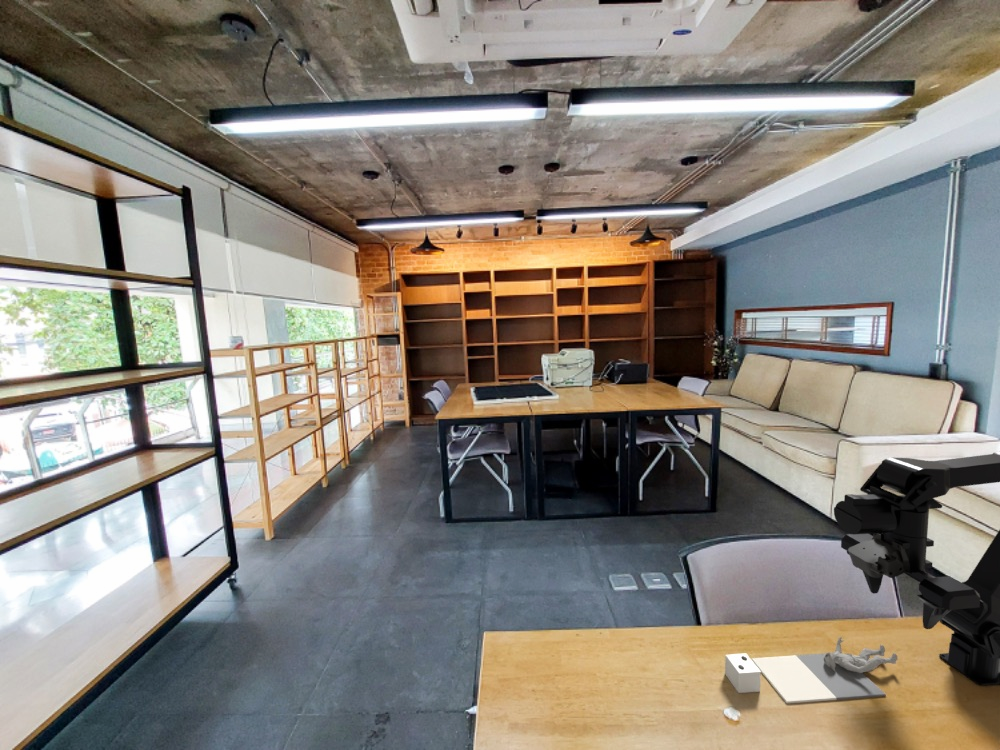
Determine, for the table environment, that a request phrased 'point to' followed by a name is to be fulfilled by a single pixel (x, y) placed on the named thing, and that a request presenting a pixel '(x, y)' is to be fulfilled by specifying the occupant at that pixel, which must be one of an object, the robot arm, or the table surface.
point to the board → (814, 679)
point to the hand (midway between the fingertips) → (899, 609)
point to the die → (742, 673)
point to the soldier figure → (858, 659)
